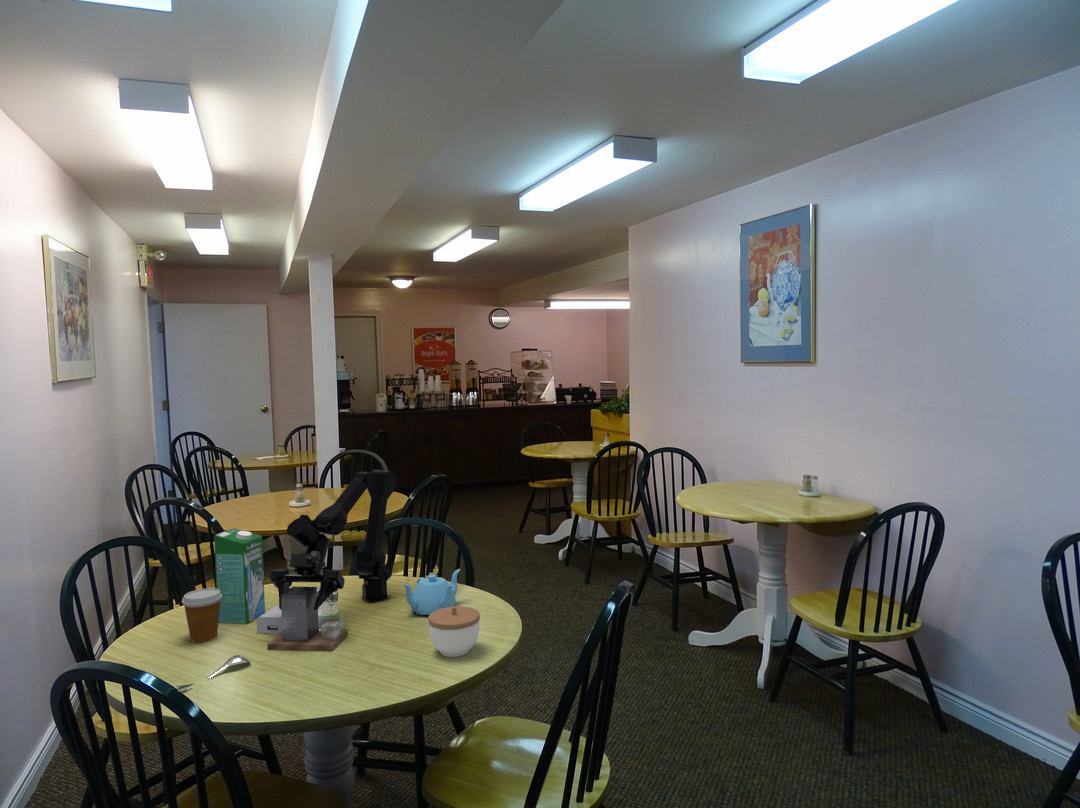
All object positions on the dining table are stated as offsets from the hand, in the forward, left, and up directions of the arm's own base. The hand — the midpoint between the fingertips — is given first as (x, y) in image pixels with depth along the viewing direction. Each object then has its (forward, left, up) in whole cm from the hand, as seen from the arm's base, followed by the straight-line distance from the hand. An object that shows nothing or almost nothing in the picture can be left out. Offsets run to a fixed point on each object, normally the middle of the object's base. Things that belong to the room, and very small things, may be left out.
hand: (297, 609), depth 172 cm
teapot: (-38, +3, -9) cm, 40 cm away
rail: (-2, +1, -9) cm, 9 cm away
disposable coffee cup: (+18, -21, -9) cm, 29 cm away
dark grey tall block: (-1, -1, -8) cm, 8 cm away
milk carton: (+6, -30, -9) cm, 32 cm away
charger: (-3, -17, -9) cm, 20 cm away
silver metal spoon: (+23, +6, -10) cm, 25 cm away
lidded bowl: (-27, +31, -9) cm, 42 cm away
